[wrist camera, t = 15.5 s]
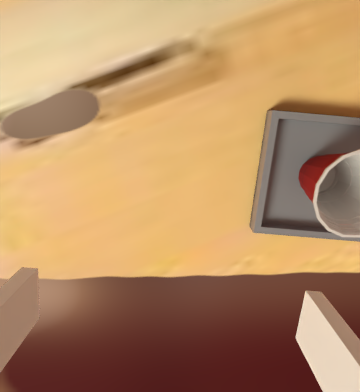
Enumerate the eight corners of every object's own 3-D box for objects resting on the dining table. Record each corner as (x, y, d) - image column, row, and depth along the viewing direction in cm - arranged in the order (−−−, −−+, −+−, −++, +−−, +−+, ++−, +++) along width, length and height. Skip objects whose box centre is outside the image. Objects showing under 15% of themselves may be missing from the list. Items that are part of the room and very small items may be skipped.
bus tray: (267, 110, 44) (272, 110, 41) (388, 121, 44) (402, 121, 41) (249, 226, 48) (253, 232, 45) (359, 235, 48) (370, 242, 46)
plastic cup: (284, 215, 47) (317, 247, 35) (278, 147, 44) (311, 157, 33) (354, 204, 46) (411, 233, 35) (352, 134, 44) (413, 140, 32)
